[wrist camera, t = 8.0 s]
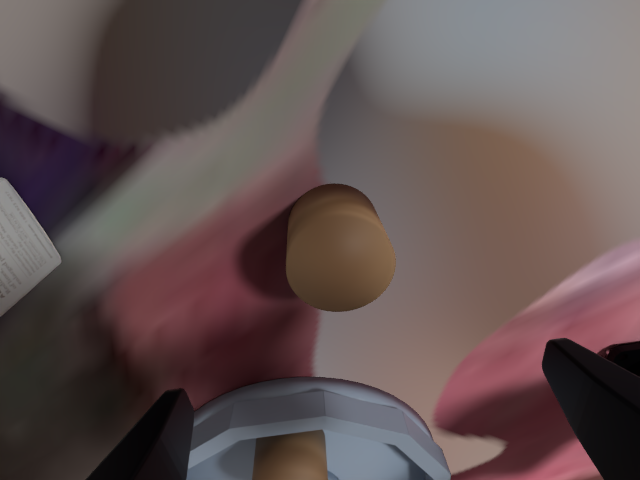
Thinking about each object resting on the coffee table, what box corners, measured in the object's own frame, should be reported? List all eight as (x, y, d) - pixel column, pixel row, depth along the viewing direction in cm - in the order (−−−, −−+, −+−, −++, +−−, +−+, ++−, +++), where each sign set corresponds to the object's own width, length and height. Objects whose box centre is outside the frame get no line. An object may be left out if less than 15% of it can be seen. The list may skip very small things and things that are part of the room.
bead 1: (302, 467, 23) (303, 533, 20) (244, 448, 21) (235, 516, 18) (338, 430, 21) (345, 496, 18) (277, 408, 20) (274, 475, 17)
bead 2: (374, 177, 15) (393, 210, 12) (379, 257, 17) (397, 304, 14) (280, 190, 15) (276, 226, 12) (295, 269, 17) (295, 318, 14)
